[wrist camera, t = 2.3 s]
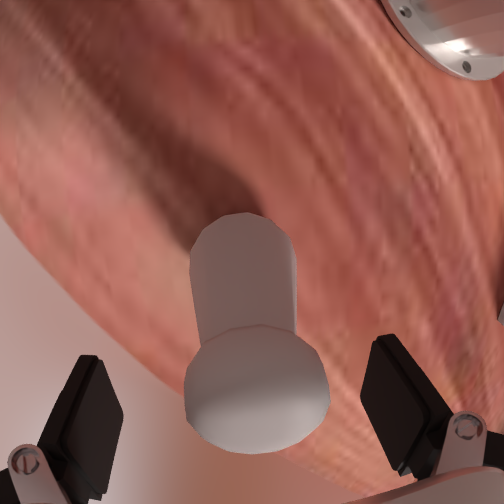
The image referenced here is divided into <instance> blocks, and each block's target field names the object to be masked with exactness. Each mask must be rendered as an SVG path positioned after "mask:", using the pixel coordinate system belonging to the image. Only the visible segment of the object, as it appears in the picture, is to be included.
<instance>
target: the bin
mask: <svg viewBox="0 0 504 504" xmlns="http://www.w3.org/2000/svg"><path fill="white" fill-rule="evenodd" d="M498 321H499V322H500V323H501V324H502V325H503V326H504V303H503V306H502V309H501V312H500V315H499V317H498Z"/></svg>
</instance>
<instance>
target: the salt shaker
mask: <svg viewBox="0 0 504 504" xmlns="http://www.w3.org/2000/svg"><path fill="white" fill-rule="evenodd" d="M189 274H190V281H191V288H192V294H193V301H194V307H195V314H196V320H197V326H198V332H199V338H200V343H201V348H200V349H199V351H198V352H197V354H196V355H195V357H194V358H193V360H192V361H191V363H190V364H189V366H188V367H187V371H186V376H185V381H184V401H185V411H186V419H187V421H188V423H189V424H190V425H191V426H192V427H193V428H194V429H195V431H197V433H198V434H199V435H200V436H201V437H202V438H203V439H205V440H206V441H208V442H209V443H211V444H213V445H216V446H218V447H220V448H222V449H224V450H227V451H230V452H238V453H246V454H259V453H267V452H275V451H279V450H281V449H284V448H286V447H289V446H291V445H294V444H296V443H298V442H300V441H301V440H303V439H304V438H305V437H306V436H307V435H309V434H310V433H311V432H312V431H313V430H315V429H316V428H317V427H318V426H319V425H320V424H321V423H322V422H323V420H324V417H325V415H326V412H327V410H328V407H329V405H330V402H331V400H330V391H329V384H328V380H327V377H326V373H325V370H324V367H323V364H322V362H321V359H320V357H319V355H318V353H317V351H316V350H315V349H314V348H313V347H311V346H310V345H309V344H308V343H306V342H305V341H304V340H302V339H301V338H300V337H298V336H297V335H296V322H297V267H296V256H295V252H294V249H293V246H292V243H291V239H290V237H289V236H288V235H287V234H286V233H285V232H284V231H282V230H281V229H280V228H279V227H278V226H277V225H276V224H275V223H274V222H273V221H272V220H270V219H268V218H265V217H262V216H258V215H255V214H252V213H249V212H244V213H237V214H230V215H223V216H222V217H220V218H219V219H217V220H216V221H214V222H213V223H211V224H210V225H208V226H207V227H205V228H204V229H203V230H202V231H201V233H200V235H199V237H198V238H197V240H196V242H195V244H194V245H193V247H192V249H191V251H190V272H189Z"/></svg>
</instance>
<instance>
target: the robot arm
mask: <svg viewBox="0 0 504 504" xmlns="http://www.w3.org/2000/svg"><path fill="white" fill-rule="evenodd" d="M381 2H382V4H383V6H384V8H385V10H386V12H387V14H388V15H389V17H390V18H391V20H392V21H393V23H394V24H395V26H396V27H397V29H398V30H399V31H400V33H401V34H402V35H403V36H404V37H405V39H406V40H407V41H408V42H409V44H410V45H411V46H412V47H413V48H414V49H416V50H417V51H418V52H419V53H420V54H421V55H422V56H423V57H424V58H425V59H426V60H428V61H429V62H430V63H432V64H433V65H434V66H436V67H437V68H439V69H440V70H442V71H444V72H446V73H447V74H449V75H452V76H454V77H457V78H460V79H463V80H472V81H478V80H488V79H491V78H494V77H496V76H498V75H499V74H500V73H502V72H503V71H504V0H381ZM360 399H361V402H362V405H363V407H364V409H365V411H366V413H367V415H368V417H369V420H370V422H371V424H372V426H373V428H374V430H375V432H376V434H377V437H378V439H379V441H380V443H381V445H382V447H383V450H384V452H385V454H386V456H387V458H388V461H389V463H390V465H391V467H392V469H393V470H394V471H398V473H399V475H400V477H401V476H404V475H407V474H410V473H412V474H413V476H414V478H415V480H414V483H412V484H409V485H406V486H403V487H400V488H397V489H394V490H390V491H387V492H384V493H380V494H377V495H374V496H370V497H367V498H363V499H360V500H356V501H352V502H347V503H343V504H504V435H502V434H499V433H495V432H491V431H487V425H486V423H485V420H484V419H483V418H482V417H481V416H480V415H478V414H477V413H474V412H472V411H460V412H458V413H456V414H453V412H452V411H451V410H450V408H449V407H448V405H447V404H446V402H445V401H444V400H443V398H442V397H441V395H440V394H439V393H438V391H437V390H436V388H435V387H434V386H433V384H432V383H431V381H430V380H429V379H428V377H427V376H426V375H425V373H424V372H423V371H422V369H421V368H420V367H419V366H418V364H417V363H416V362H415V360H414V359H413V358H412V356H411V355H410V354H409V352H408V351H407V350H406V348H405V347H404V346H403V345H402V343H401V342H400V341H399V339H398V338H397V337H396V335H395V334H387V335H381V336H378V337H377V339H376V341H373V343H372V347H371V351H370V356H369V360H368V365H367V369H366V373H365V377H364V381H363V385H362V389H361V393H360ZM122 423H123V411H122V408H121V406H120V403H119V401H118V399H117V396H116V394H115V392H114V389H113V387H112V384H111V381H110V379H109V376H108V374H107V371H106V368H105V366H104V363H103V361H102V360H99V359H98V357H97V356H95V355H81V356H80V357H79V359H78V360H77V362H76V364H75V366H74V368H73V370H72V372H71V374H70V376H69V378H68V380H67V382H66V384H65V386H64V388H63V390H62V391H61V393H60V395H59V397H58V399H57V401H56V403H55V405H54V408H53V409H52V412H51V414H50V416H49V418H48V421H47V423H46V425H45V427H44V430H43V432H42V434H41V437H40V439H39V441H38V444H37V446H35V445H32V444H24V445H20V446H18V447H16V448H15V449H14V450H13V451H12V452H11V453H10V455H9V458H8V462H7V463H8V468H6V469H4V470H2V471H0V504H88V501H89V499H94V500H99V501H101V498H102V494H105V493H106V492H107V489H108V484H109V479H110V474H111V469H112V465H113V461H114V456H115V452H116V448H117V443H118V439H119V435H120V431H121V427H122Z"/></svg>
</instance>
